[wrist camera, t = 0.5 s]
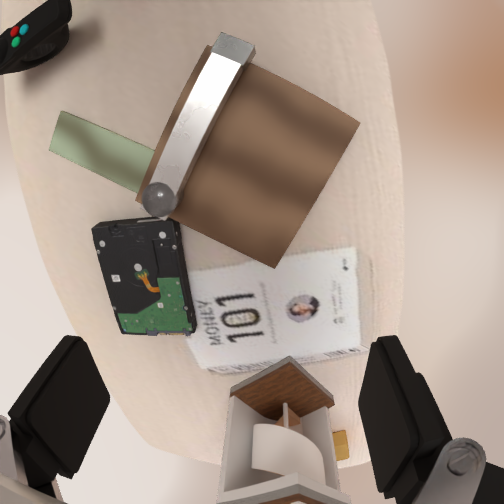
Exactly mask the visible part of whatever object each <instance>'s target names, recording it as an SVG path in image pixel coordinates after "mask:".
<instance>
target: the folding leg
mask: <svg viewBox="0 0 504 504" xmlns="http://www.w3.org/2000/svg"><path fill="white" fill-rule="evenodd" d="M210 52H211V53H212V54H211V56H210V57H209V59H208V61H207V63H206V65H205V67H204V68H203V70H202V72H201V74H200V76H199V78H198V80H197V81H196V83H195V85H194V87H193V89H192V91H191V93H190V95H189V97H188V99H187V101H186V103H185V105H184V107H183V109H182V111H181V113H180V115H179V118H178V120H177V122H176V124H175V126H174V128H173V130H172V133H171V135H170V137H169V139H168V141H167V144H166V146H165V148H164V150H163V153H162V155H161V157H160V160H159V162H158V164H157V167H156V169H155V172H154V174H153V176H152V179H151V181H150V184H149V185H148V186H147V187H146V188H145V189H144V191H143V193H142V205H141V207H140V209H142V210H144V211H146V212H148V213H149V214H150V215H152V216H155V217H158V218H160V219H162V220H164V221H165V220H166V219H167V218H168V217H169V216H170V215H171V214H172V213H173V212H174V210H175V208H176V207H177V206H178V205H179V204H180V203H181V201H182V199H183V196H184V187H185V185H186V183H187V181H188V179H189V176H190V174H191V172H192V170H193V168H194V166H195V163H196V161H197V159H198V157H199V155H200V153H201V151H202V149H203V147H204V145H205V143H206V141H207V139H208V137H209V135H210V133H211V131H212V129H213V127H214V125H215V123H216V121H217V119H218V117H219V115H220V113H221V111H222V109H223V107H224V105H225V103H226V101H227V100H228V98H229V96H230V94H231V92H232V90H233V88H234V87H235V85H236V83H237V81H238V79H239V77H240V76H241V74H242V72H243V70H244V71H246V69H247V68H248V66H249V64H250V62H251V61H252V59H253V57H254V55H255V54H256V51H255V45H252V44H250V43H248V42H245V41H243V40H241V39H238V38H236V37H233V36H231V35H228V34H226V33H223V32H221V34H220V35H219V37H218V39H217V41H216V42H215V44H214V46H213V47H212V49H211V51H210Z"/></svg>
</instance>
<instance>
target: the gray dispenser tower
mask: <svg viewBox="0 0 504 504" xmlns="http://www.w3.org/2000/svg"><path fill="white" fill-rule="evenodd" d="M334 405H335V404H334V399H333V395H332V394H331V393H330V392H329V391H328V390H326V389H325V388H324V387H323V386H322V385H321V384H320V383H319V382H318V381H317V380H316V379H314V378H313V377H312V376H311V375H310V374H309V373H308V372H307V371H306V370H305V369H304V368H303V367H301V366H300V365H299V364H298V363H297V362H296V361H295V360H294V359H293V358H292V357H291V356H288V357H286V358H285V359H283V360H281V361H279V362H278V363H276V364H274V365H272V366H270V367H269V368H267V369H265V370H263V371H261V372H260V373H258V374H256V375H254V376H252V377H250V378H248V379H247V380H245V381H243V382H241V383H239V384H237V385H235V386H233V387H231V392H230V400H229V407H228V415H227V423H226V431H225V439H224V447H223V455H222V463H221V471H220V480H219V488H218V497H217V504H351V499H350V495H347V494H345V493H342V492H341V490H340V483H339V476H338V468H337V461H336V455H335V448H334V441H333V435H332V429H331V422H330V416H329V410H328V408H330V407H332V406H334Z"/></svg>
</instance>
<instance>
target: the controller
mask: <svg viewBox="0 0 504 504" xmlns="http://www.w3.org/2000/svg"><path fill="white" fill-rule="evenodd" d="M71 17H72V6H71V2H70V0H48V1H46V2H45V3H43V4H42V5H41V6H39V7H38V8H36V9H35V10H34V11H32V12H31V13H30V14H28V15H27V16H26V17H24V18H23V19H22V20H21V21H19V22H18V23H17V24H16V25H14V26H13V27H12V28H8V29H7V30H6V31H4V32H3V33H2V34H1V35H0V75H3V74H7V73H15V72H20V71H24V70H27V69H30V68H33V67H35V66H38V65H40V64H42V63H44V62H46V61H48V60H49V59H51V58H53V57H54V56H55V55H57V54H58V53H59V52H60V51H61V50H62V49H63V48H64V46H65V45H66V44H67V42H68V39H69V28H68V22H69V21H70V20H71Z"/></svg>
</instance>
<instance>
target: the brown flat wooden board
mask: <svg viewBox="0 0 504 504" xmlns="http://www.w3.org/2000/svg"><path fill="white" fill-rule="evenodd" d="M211 49H212V47H211V46H209V45H207V46H206V48H205V50H204V52H203V54H202V55H201V57H200V59H199V61H198V63H197V64H196V66H195V68H194V70H193V72H192V74H191V76H190V78H189V79H188V81H187V83H186V85H185V87H184V89H183V91H182V93H181V95H180V97H179V99H178V101H177V103H176V105H175V108H174V110H173V112H172V114H171V116H170V118H169V120H168V122H167V125H166V127H165V129H164V131H163V133H162V136H161V138H160V140H159V142H158V145H157V147H156V149H155V150H152V149H150V148H148V147H146V146H144V145H141V144H139V143H137V142H135V141H132V140H130V139H128V138H126V137H123V136H121V135H119V134H117V133H114V132H112V131H110V130H107V129H105V128H103V127H100V126H98V125H96V124H93V123H91V122H88V121H86V120H84V119H81V118H79V117H76V116H74V115H72V114H69V113H67V112H64V111H61V112H60V115H59V118H58V121H57V124H56V127H55V131H54V134H53V137H52V140H51V144H50V147H49V151H52V152H54V153H56V154H58V155H60V156H62V157H64V158H66V159H68V160H70V161H72V162H74V163H76V164H78V165H80V166H82V167H84V168H86V169H89V170H91V171H93V172H95V173H97V174H99V175H101V176H103V177H105V178H107V179H109V180H111V181H113V182H115V183H117V184H119V185H121V186H123V187H125V188H128V189H130V190H132V191H134V192H136V193H138V194H137V197H136V200H135V201H137V202H139V203H141V204H142V193H143V191H144V189H145V188H146V187H147V186H148V185H149V184H150V181H151V179H152V176H153V174H154V172H155V169H156V167H157V164H158V162H159V160H160V157H161V155H162V153H163V150H164V148H165V146H166V144H167V141H168V139H169V137H170V135H171V133H172V130H173V128H174V126H175V124H176V122H177V120H178V118H179V115H180V113H181V111H182V109H183V107H184V105H185V103H186V101H187V99H188V97H189V95H190V93H191V91H192V89H193V87H194V85H195V83H196V81H197V80H198V78H199V76H200V74H201V72H202V70H203V68H204V67H205V65H206V63H207V61H208V59H209V57H210V56H211V54H212V53H211V52H210V51H211ZM359 125H360V122H358V121H357V120H355V119H353V118H352V117H350V116H349V115H347V114H345V113H344V112H342V111H341V110H339V109H337V108H336V107H334V106H332V105H331V104H329V103H327V102H325V101H324V100H322V99H320V98H318V97H317V96H315V95H313V94H311V93H309V92H308V91H306V90H304V89H302V88H300V87H298V86H296V85H295V84H293V83H291V82H289V81H287V80H285V79H283V78H281V77H279V76H277V75H275V74H273V73H271V72H269V71H267V70H265V69H262V68H260V67H258V66H256V65H254V64H252V63H250V64H249V66H248V68H247V69H246V71H244V70H243V72H242V74H241V76H240V77H239V79H238V81H237V83H236V85H235V87H234V88H233V90H232V92H231V94H230V96H229V98H228V100H227V101H226V103H225V105H224V107H223V109H222V111H221V113H220V115H219V117H218V119H217V121H216V123H215V125H214V127H213V129H212V131H211V133H210V135H209V137H208V139H207V141H206V143H205V145H204V147H203V149H202V151H201V153H200V155H199V157H198V159H197V161H196V163H195V166H194V168H193V170H192V172H191V174H190V176H189V179H188V181H187V183H186V185H185V187H184V196H183V199H182V201H181V203H180V204H179V205H178V206H177V207H176V208H175V210H174V212H173V213H172V214H171V215H170V216H169V218H171V219H174V220H176V221H178V222H180V223H182V224H184V225H186V226H188V227H190V228H192V229H194V230H196V231H198V232H200V233H202V234H204V235H206V236H208V237H210V238H212V239H214V240H216V241H218V242H220V243H223V244H225V245H227V246H229V247H231V248H233V249H235V250H237V251H239V252H241V253H243V254H245V255H247V256H249V257H251V258H253V259H255V260H257V261H259V262H262V263H264V264H266V265H268V266H270V267H272V268H274V269H275V268H276V266H277V264H278V263H279V261H280V259H281V258H282V256H283V254H284V253H285V251H286V250H287V248H288V246H289V245H290V243H291V241H292V240H293V238H294V236H295V235H296V233H297V231H298V230H299V228H300V226H301V225H302V223H303V221H304V220H305V218H306V216H307V215H308V213H309V211H310V210H311V208H312V206H313V204H314V203H315V201H316V199H317V198H318V196H319V194H320V193H321V191H322V189H323V187H324V186H325V184H326V182H327V181H328V179H329V177H330V175H331V174H332V172H333V170H334V169H335V167H336V165H337V163H338V162H339V160H340V158H341V156H342V155H343V153H344V151H345V149H346V148H347V146H348V144H349V142H350V141H351V139H352V137H353V135H354V134H355V132H356V130H357V128H358V127H359Z"/></svg>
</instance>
